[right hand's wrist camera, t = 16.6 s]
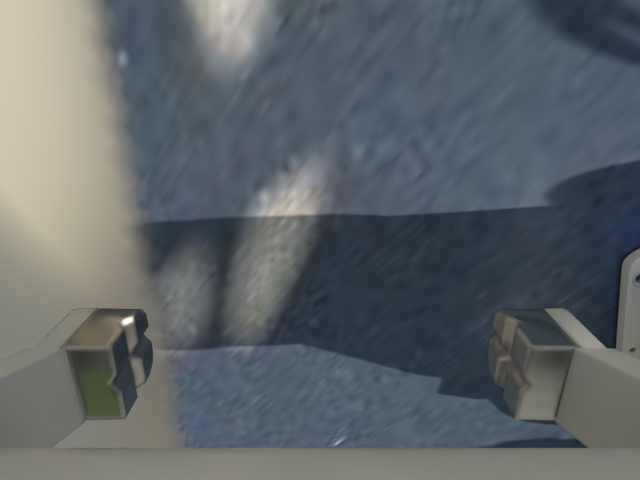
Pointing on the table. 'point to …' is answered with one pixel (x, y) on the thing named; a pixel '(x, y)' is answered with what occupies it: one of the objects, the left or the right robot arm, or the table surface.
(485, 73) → the table surface
